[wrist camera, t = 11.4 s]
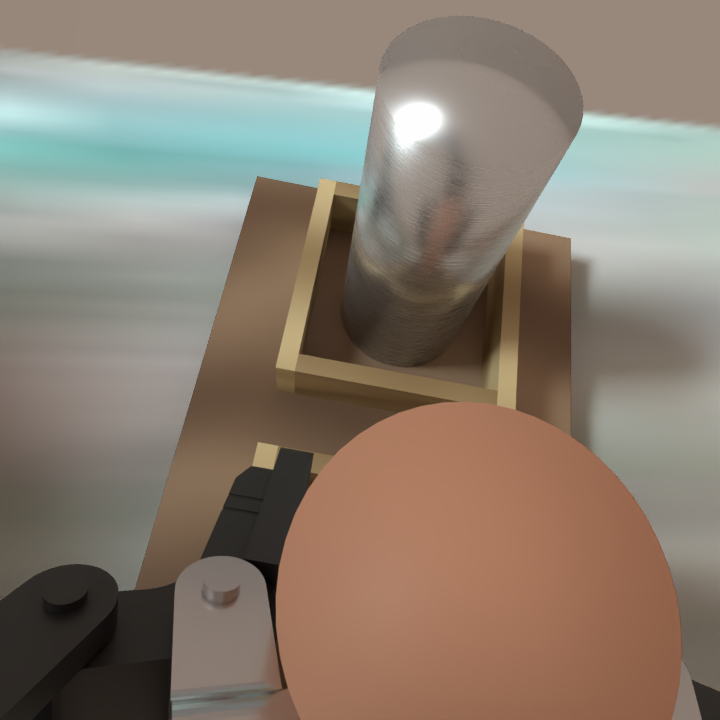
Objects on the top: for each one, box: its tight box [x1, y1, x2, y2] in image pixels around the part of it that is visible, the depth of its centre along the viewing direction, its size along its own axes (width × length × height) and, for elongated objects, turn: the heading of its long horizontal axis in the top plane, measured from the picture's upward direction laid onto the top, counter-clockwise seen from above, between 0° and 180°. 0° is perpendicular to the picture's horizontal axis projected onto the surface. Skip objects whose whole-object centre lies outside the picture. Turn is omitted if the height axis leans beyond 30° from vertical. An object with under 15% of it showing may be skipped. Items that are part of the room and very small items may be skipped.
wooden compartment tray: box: [135, 176, 571, 720], centre depth 19 cm, size 20×13×4 cm, turn 171°
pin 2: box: [276, 402, 682, 720], centre depth 11 cm, size 4×4×10 cm
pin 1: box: [341, 16, 583, 367], centre depth 17 cm, size 4×4×10 cm
